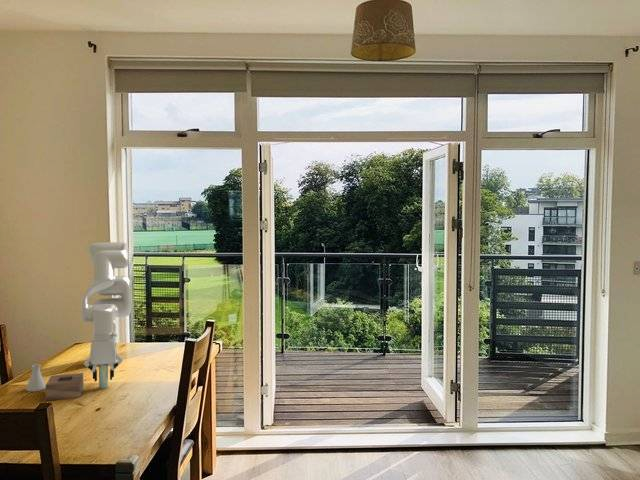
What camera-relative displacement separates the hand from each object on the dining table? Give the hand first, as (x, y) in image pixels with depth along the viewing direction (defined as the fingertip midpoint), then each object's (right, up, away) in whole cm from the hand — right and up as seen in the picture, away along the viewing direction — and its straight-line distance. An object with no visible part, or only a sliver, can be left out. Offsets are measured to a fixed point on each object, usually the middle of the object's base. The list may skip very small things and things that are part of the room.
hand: (103, 379), depth 204 cm
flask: (-27, -3, -3) cm, 27 cm away
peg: (0, -3, 0) cm, 3 cm away
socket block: (-12, -4, -7) cm, 15 cm away
